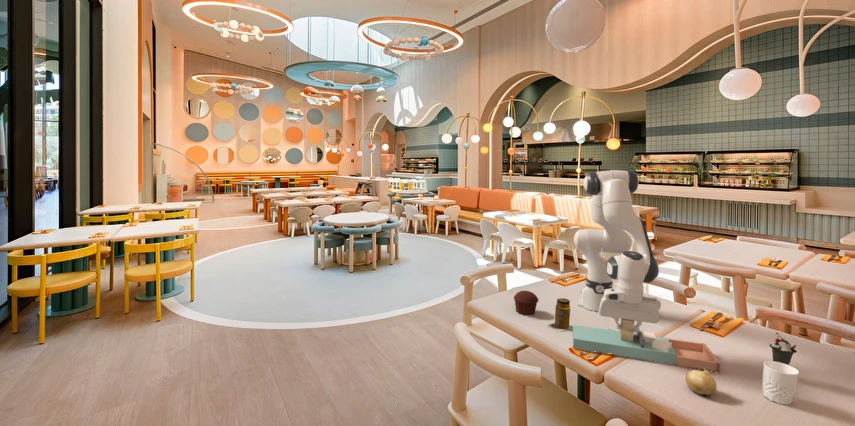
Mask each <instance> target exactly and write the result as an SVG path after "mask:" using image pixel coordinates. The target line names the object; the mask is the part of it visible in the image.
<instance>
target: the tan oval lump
mask: <svg viewBox="0 0 855 426" xmlns="http://www.w3.org/2000/svg"><path fill="white" fill-rule="evenodd" d="M704 370H705V368H704ZM685 384H686V385H687V388H688V389H689V390H690V391H692V392H694V393H695V394H697V395H699V394H700V396H703V395H706V396H711V395H712V394H714V393H715V392H716V390H717V382H716V380H715V378H714V377H713V375H711V372H709V371H706V370H705V371H702V370H696V369H692V370H691V371H689V372H687V374H686V375H685Z"/></svg>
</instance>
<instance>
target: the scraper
mask: <svg viewBox="0 0 855 426" xmlns="http://www.w3.org/2000/svg"><path fill="white" fill-rule="evenodd" d="M635 323H636V321H634V320H626V319H620V324H621V325H622V327H621V328H622V329H621V330H619V331H620V338H621V340H623V341H630V342H633V341H636V342H639V344H640V346H641V348H644V343H645V340H644V337H643V335H642V333H641V331H642V330H641V329H640V327H639V328H638V332H634V326H635ZM634 333H635V335H634Z"/></svg>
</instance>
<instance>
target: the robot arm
mask: <svg viewBox="0 0 855 426" xmlns="http://www.w3.org/2000/svg"><path fill="white" fill-rule="evenodd" d="M639 184H640V183H639V177H638V174H637V173H636V171H634V170H630V169H626V170H623V169H622V170H621V169H610V170H601V171H590V172H588V173H586V175H585V177H584V179H583V189H584V190H585V193H587V194H588V195H590V196H592V198H591V211H590V212H591V213H590V216H591V219H592V221H593V222H594V223H595V224H597V225H599V226H601V227H603V229H595V228H583V229H578V230H577V231H576V232H575V234H574V235H573V236H574V237H573V244H574V245H575V247H576V249H578V250H579V251H580V252H581V253H582V254H583V256H584V257H585V260H586V263H587V277H586V280H585V285H586V286H585V287H584V288H583V289H581V290H580V291H581V292H580V294H581V296H580V297H579V300H578V301H577V303H576V304H577V306H580V307H583V308H584V309H587V310H590V311H593V312H598V314H599V315H600V316H601V317H605V318H611V319H613V320H614V322H615V324H616V329H617V330H618V331H620V330H621V329H622V328H621V327H622V325H621V323H620V322H619V320H621V319H626V320H634V321H635V322H636V324H634V333H635V332H638V328H639V329H640V326H642V322H643V323H650V324H657V323H659V322H660V309H661V307H662V303H661V301H660V300H659V299H658V298H656V297H649V296H644V289H645V287H644V283H651V282H653V281H654V280H655V279H657V278H658V276H659V273H660V269H659V265H658V262H657V260H656V258H655V256H654V253H653V248H652V246H651V243H650V239H649V235H648V232H647V228H646V226H645V223H644V220H643V218H641V217H639V216H638V215H637V213H636V211H635V210H634V207H633V201H632V195H631V194H633V193H635V192H636V191H637V189H638V186H639ZM630 235H631V236H632V237H633V239H634V241H635V246H636V250H637V251H633V250H631V248H632V245H633V240H632V238H631V236H630ZM600 253H607V254H616V255H613V256H610V257H609V258H608V259H606V258H603V257H602V256H601V255H600ZM617 254H620V255H617ZM613 280H614V281H615V280H616V281H618V283H617V286H616V287H613V285H614V284H613V283H614V282H613Z"/></svg>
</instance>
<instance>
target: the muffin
mask: <svg viewBox="0 0 855 426" xmlns="http://www.w3.org/2000/svg"><path fill="white" fill-rule="evenodd" d="M513 300H514V305H515V312H516V313H517V312H518V313H517V314H518V315H521V314H522V315H521V316H529V315H531V316H534V315H535V314H536V309H537V304H538V303H539V298H538V296H537V295H536V294H535V293H534V292H532V291H529V290H521V291H518V292H516V293H515V294H514V296H513ZM533 314H534V315H533Z"/></svg>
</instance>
